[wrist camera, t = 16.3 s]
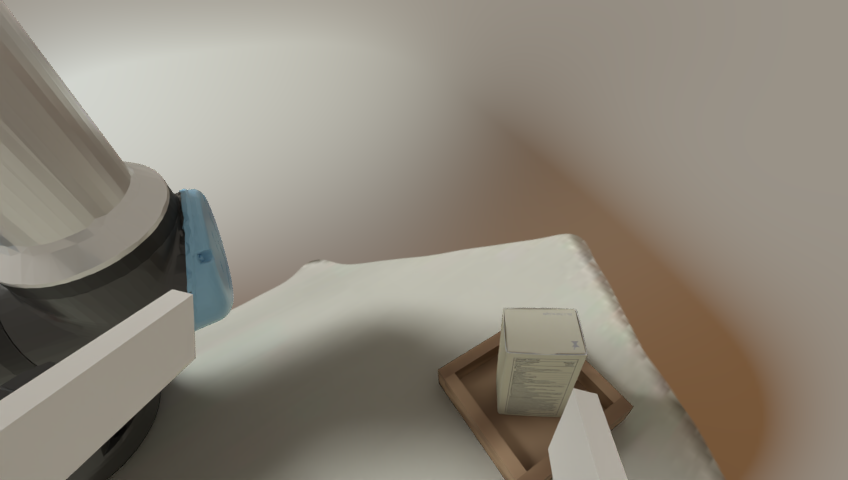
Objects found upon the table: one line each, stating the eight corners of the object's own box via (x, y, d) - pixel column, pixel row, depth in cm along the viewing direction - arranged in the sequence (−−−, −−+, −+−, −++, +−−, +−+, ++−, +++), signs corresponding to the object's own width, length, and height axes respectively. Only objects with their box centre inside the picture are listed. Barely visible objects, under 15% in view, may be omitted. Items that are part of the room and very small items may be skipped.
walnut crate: (439, 383, 43) (438, 369, 41) (531, 325, 47) (534, 310, 45) (521, 503, 35) (525, 494, 33) (624, 419, 39) (633, 406, 37)
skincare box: (554, 376, 42) (579, 306, 33) (561, 420, 38) (591, 355, 30) (493, 373, 42) (502, 304, 34) (495, 416, 39) (505, 352, 30)
